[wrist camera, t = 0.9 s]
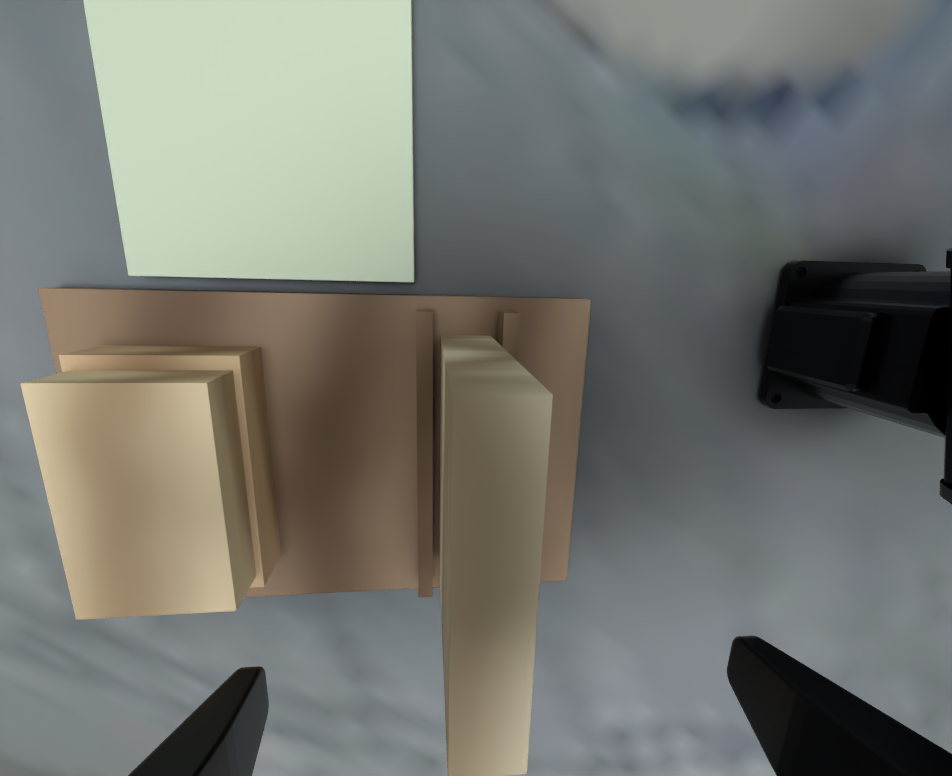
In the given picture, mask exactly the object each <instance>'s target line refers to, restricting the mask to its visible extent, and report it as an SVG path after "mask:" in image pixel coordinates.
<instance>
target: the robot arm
mask: <svg viewBox="0 0 952 776" xmlns="http://www.w3.org/2000/svg"><path fill="white" fill-rule="evenodd" d="M946 268H950V271H939V272H926V269H925V267H924V266H923V265H919V264H889V263H857V262H826V261H794V262H791V263H789V264H787V266H786V267H785V268H784V271H783V274H782V280H781V285H780V290H779V296H778V301H777V306H776V311H775V317H774V322H773V327H772V333H771V338H770V343H769V349H768V354H767V359H766V364H765V370H764V375H763V380H762V386H761V391H760V402H761V404H763V405H764V406H767V407H769V408H773V409H798V408H851V409H854V410H857V411H860V412H864V413H867V414H870V415H873V416H877V417H880V418H883V419H886V420H889V421H893V422H896V423H899V424H902V425H905V426H909V427H912V428H915V429H918V430H921V431H925V432H928V433H931V434H934V435H938V436H941V437H944V438H945V459H944V479H941V480H940V496H941V497H943V498H944V499H945V500H947V501H948V502H950V503H951V504H952V248H951V249H948V250H947V254H946ZM797 269H798V270H799V274H798V276H797V277H796V276H795V273H796V270H797ZM774 393H775V396H774V398H773V399H772V400H771V397H772V395H773V394H774ZM727 675H728V679H729V682H730V685H731V687H732V689H733V691H734V693H735V695H736V697H737V699H738V701H739V703H740V705H741V707H742V709H743V711H744V713H745V715H746V717H747V719H748V721H749V723H750V725H751V727H752V729H753V731H754V733H755V735H756V736H757V738H758V740H759V742H760V744H761V746H762V748H763V750H764V752H765V754H766V756H767V758H768V760H769V762H770V764H771V766H772V768H773V770H774V771H775V773H776V775H777V776H952V754H951V753H949V752H948V751H946V750H944V749H943V748H941V747H939V746H938V745H936V744H934V743H933V742H931V741H929V740H928V739H926V738H924V737H923V736H921V735H919V734H918V733H916V732H915V731H913V730H911V729H910V728H908V727H906V726H905V725H903V724H901V723H900V722H898V721H896V720H895V719H893V718H891V717H890V716H888V715H886V714H885V713H883V712H881V711H880V710H878V709H877V708H875V707H873V706H872V705H870V704H868V703H867V702H865V701H863V700H862V699H860V698H858V697H857V696H855V695H853V694H852V693H850V692H848V691H847V690H845V689H843V688H842V687H840V686H838V685H837V684H835V683H834V682H832V681H830V680H829V679H827V678H825V677H824V676H822V675H820V674H819V673H817V672H815V671H814V670H812V669H810V668H809V667H807V666H805V665H804V664H802V663H800V662H799V661H797V660H796V659H794V658H792V657H791V656H789V655H787V654H786V653H784V652H782V651H781V650H779V649H777V648H776V647H774V646H772V645H771V644H769V643H767V642H766V641H764V640H762V639H761V638H759V637H757V636H739V637H736V638H735V639H734V640H733V642H732V646H731V651H730V656H729V661H728V666H727ZM268 707H269V701H268V692H267V684H266V675H265V670H264V668H262V667H245V668H240V669H238V670H237V671H235V672H234V673H233V674H232V675H231V676H230V677H229V678H228V679H227V680H226V681H225V682H224V683H223V684H222V685H221V686H220V687H219V688H218V689H217V690H216V691H215V692H214V693H213V694H212V695H210V696H209V697H208V698H207V699H206V700H205V701H204V702H203V703H202V704H201V705H200V706H199V707H198V708H197V709H196V710H195V711H194V712H193V713H192V714H191V715H190V716H189V717H188V718H187V719H186V720H185V721H184V722H183V723H182V724H181V725H180V726H179V727H178V728H177V729H176V730H174V731H173V732H172V733H171V734H170V735H169V736H168V737H167V738H166V739H165V740H164V741H163V742H162V743H161V744H160V745H159V746H158V747H157V748H156V749H155V750H154V751H153V752H152V753H151V754H150V755H149V756H148V757H147V758H146V759H145V760H144V761H143V762H142V763H141V764H140V765H138V766H137V767H136V768H135V769H134V770H133V771H132V772H131V773H130V774H129V775H128V776H252V773H253V769H254V765H255V761H256V758H257V754H258V750H259V746H260V742H261V738H262V735H263V731H264V727H265V723H266V719H267V715H268Z"/></svg>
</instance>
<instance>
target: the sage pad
mask: <svg viewBox="0 0 952 776" xmlns="http://www.w3.org/2000/svg"><path fill="white" fill-rule="evenodd" d="M83 1H84V7H85V13H86V19H87V25H88V31H89V38H90V44H91V50H92V56H93V62H94V68H95V74H96V80H97V86H98V92H99V98H100V105H101V111H102V117H103V123H104V129H105V135H106V141H107V147H108V153H109V159H110V166H111V172H112V178H113V184H114V190H115V196H116V202H117V208H118V214H119V220H120V226H121V233H122V239H123V245H124V251H125V257H126V263H127V269H128V275H129V276H167V277H209V278H252V279H295V280H337V281H380V282H415V277H414V175H413V73H412V0H83Z"/></svg>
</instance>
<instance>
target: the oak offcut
mask: <svg viewBox="0 0 952 776" xmlns="http://www.w3.org/2000/svg"><path fill="white" fill-rule="evenodd" d="M59 359H60V364H61V369H62V372H65V371H69V370H233V376H234V385H235V393H236V402H237V411H238V420H239V429H240V437H241V446H242V455H243V464H244V473H245V481H246V490H247V499H248V508H249V517H250V525H251V534H252V543H253V552H254V561H255V569H256V577H255V579H254V581H253V583H252V584H251V586H250V588H253V587H265V585H266V583H267V581H268V579H269V577H270V575H271V573H272V571H273V570H274V568H275V566H276V564H277V562H278V560H279V558H280V556H281V548H280V538H279V528H278V517H277V507H276V496H275V486H274V476H273V465H272V455H271V445H270V434H269V424H268V413H267V403H266V393H265V382H264V372H263V361H262V351H261V347H242V346H106V345H103V346H98V347H94V348H89V349H84V350H79V351H75V352H70V353H65V354H61V355H59Z"/></svg>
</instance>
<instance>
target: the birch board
mask: <svg viewBox="0 0 952 776" xmlns="http://www.w3.org/2000/svg"><path fill="white" fill-rule="evenodd" d="M552 399H553V394H552V393H551V392H550V391H548V390H547V389H546V388H545V387H544V386H543V385H542V384H541V383H540V382H539V381H538V380H537V379H536V378H535V377H534V376H533V375H532V374H530V373H529V372H528V371H527V370H526V369H525V368H524V367H523V366H522V365H521V364H520V363H519V362H518V361H517V360H516V359H515V358H513V357H512V356H511V355H510V354H509V353H508V352H507V351H506V350H505V349H504V348H503V347H502V346H501V345H500V344H499V343H498V342H497V341H495V340H494V339H493V338H492V337H491V336H458V335H440V465H439V568H440V593H441V618H442V643H443V668H444V693H445V718H446V743H447V768H448V776H507V775H517V774H527V760H528V746H529V731H530V717H531V703H532V688H533V674H534V659H535V645H536V630H537V616H538V601H539V587H540V573H541V558H542V544H543V529H544V515H545V500H546V486H547V472H548V457H549V443H550V428H551V414H552Z"/></svg>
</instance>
